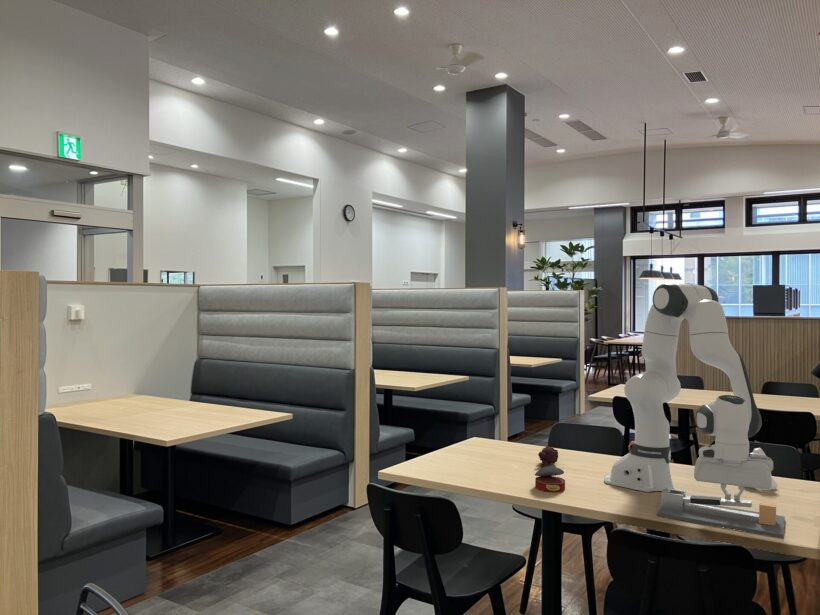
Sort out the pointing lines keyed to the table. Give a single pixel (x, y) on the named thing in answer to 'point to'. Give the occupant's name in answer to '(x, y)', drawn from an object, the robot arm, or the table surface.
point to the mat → (726, 521)
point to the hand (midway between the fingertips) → (732, 500)
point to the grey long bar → (701, 506)
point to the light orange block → (767, 512)
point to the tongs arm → (716, 501)
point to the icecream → (548, 456)
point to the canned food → (549, 479)
